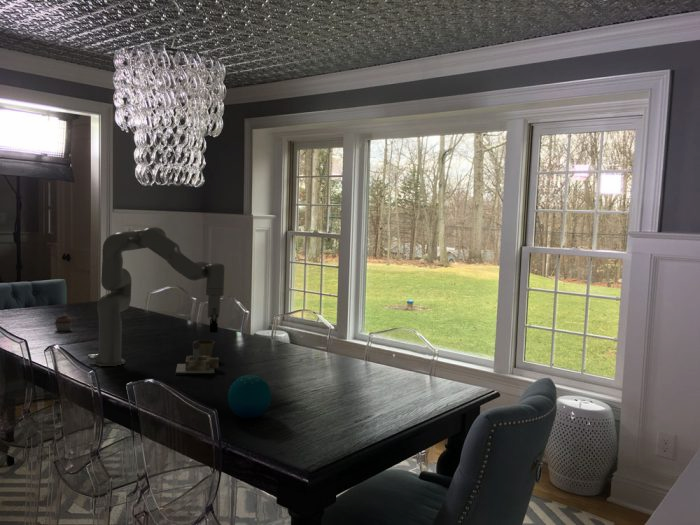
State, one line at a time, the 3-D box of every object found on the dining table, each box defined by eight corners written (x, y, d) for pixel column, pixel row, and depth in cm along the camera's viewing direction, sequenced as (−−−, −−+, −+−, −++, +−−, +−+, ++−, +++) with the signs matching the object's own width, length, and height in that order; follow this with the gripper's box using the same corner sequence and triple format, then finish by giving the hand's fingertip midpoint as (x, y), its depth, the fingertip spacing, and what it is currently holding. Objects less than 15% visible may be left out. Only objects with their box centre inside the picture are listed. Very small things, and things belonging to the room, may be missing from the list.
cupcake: (55, 329, 336) (55, 311, 335) (73, 328, 338) (73, 311, 338) (52, 332, 327) (52, 314, 326) (71, 332, 330) (71, 314, 329)
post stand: (175, 375, 258) (176, 344, 257) (177, 367, 271) (178, 337, 270) (214, 374, 262) (215, 344, 261) (213, 366, 274) (214, 338, 273)
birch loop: (185, 370, 260) (185, 361, 260) (186, 364, 270) (186, 355, 270) (218, 370, 264) (218, 361, 263) (218, 364, 273) (218, 355, 273)
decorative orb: (272, 411, 219) (274, 370, 217) (268, 425, 204) (269, 382, 203) (230, 409, 218) (232, 368, 217) (223, 424, 203) (224, 380, 202)
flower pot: (193, 362, 280) (194, 344, 279) (193, 357, 289) (194, 339, 288) (214, 362, 283) (215, 344, 282) (213, 357, 292) (214, 339, 291)
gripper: (206, 288, 273) (204, 326, 274) (206, 294, 256) (204, 334, 257) (223, 289, 274) (221, 326, 276) (224, 294, 257) (222, 334, 259)
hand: (213, 330), depth 266 cm, fingers open, 9 cm apart
